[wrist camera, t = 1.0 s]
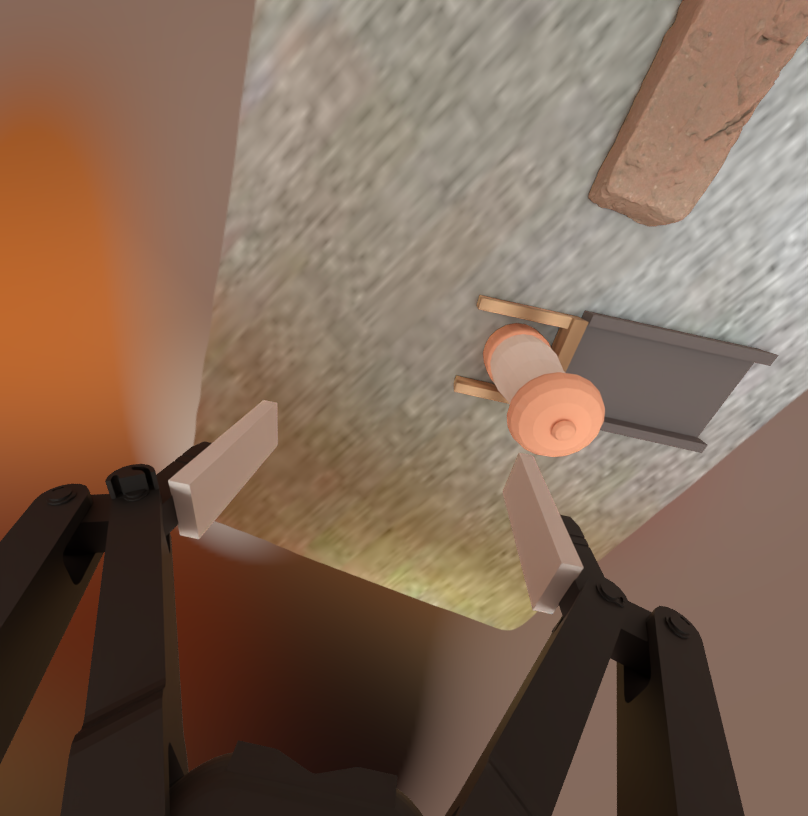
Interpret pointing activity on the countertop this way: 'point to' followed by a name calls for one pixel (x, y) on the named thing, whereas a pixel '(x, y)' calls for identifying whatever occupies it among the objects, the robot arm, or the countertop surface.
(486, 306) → the oak cradle
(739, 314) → the countertop surface
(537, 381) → the salt shaker
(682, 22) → the brick
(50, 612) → the robot arm
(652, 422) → the grey tray
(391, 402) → the countertop surface
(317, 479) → the countertop surface
